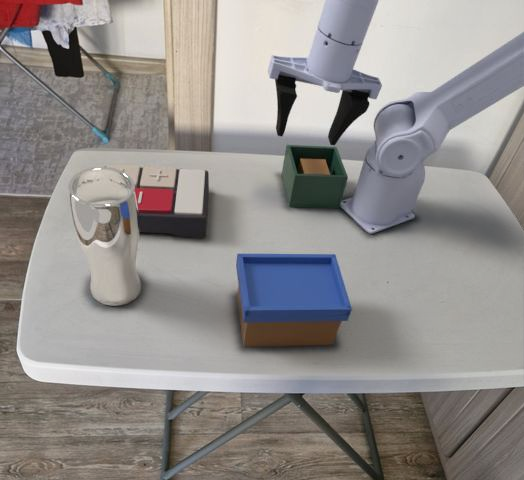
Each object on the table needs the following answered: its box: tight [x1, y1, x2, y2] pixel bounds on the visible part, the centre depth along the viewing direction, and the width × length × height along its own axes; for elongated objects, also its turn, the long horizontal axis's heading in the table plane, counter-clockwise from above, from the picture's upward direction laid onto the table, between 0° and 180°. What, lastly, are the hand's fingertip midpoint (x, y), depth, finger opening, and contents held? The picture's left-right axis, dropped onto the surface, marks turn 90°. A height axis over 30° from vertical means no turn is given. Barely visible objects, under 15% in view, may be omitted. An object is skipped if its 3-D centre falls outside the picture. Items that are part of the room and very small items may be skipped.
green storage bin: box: [280, 144, 349, 209], centre depth 81 cm, size 8×8×6 cm
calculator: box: [104, 163, 210, 239], centre depth 74 cm, size 11×4×15 cm
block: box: [297, 158, 330, 175], centre depth 81 cm, size 4×4×4 cm
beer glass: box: [68, 166, 142, 307], centre depth 60 cm, size 7×7×15 cm
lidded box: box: [235, 253, 353, 348], centre depth 63 cm, size 12×9×7 cm
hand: (305, 136), depth 73 cm, fingers open, 7 cm apart
